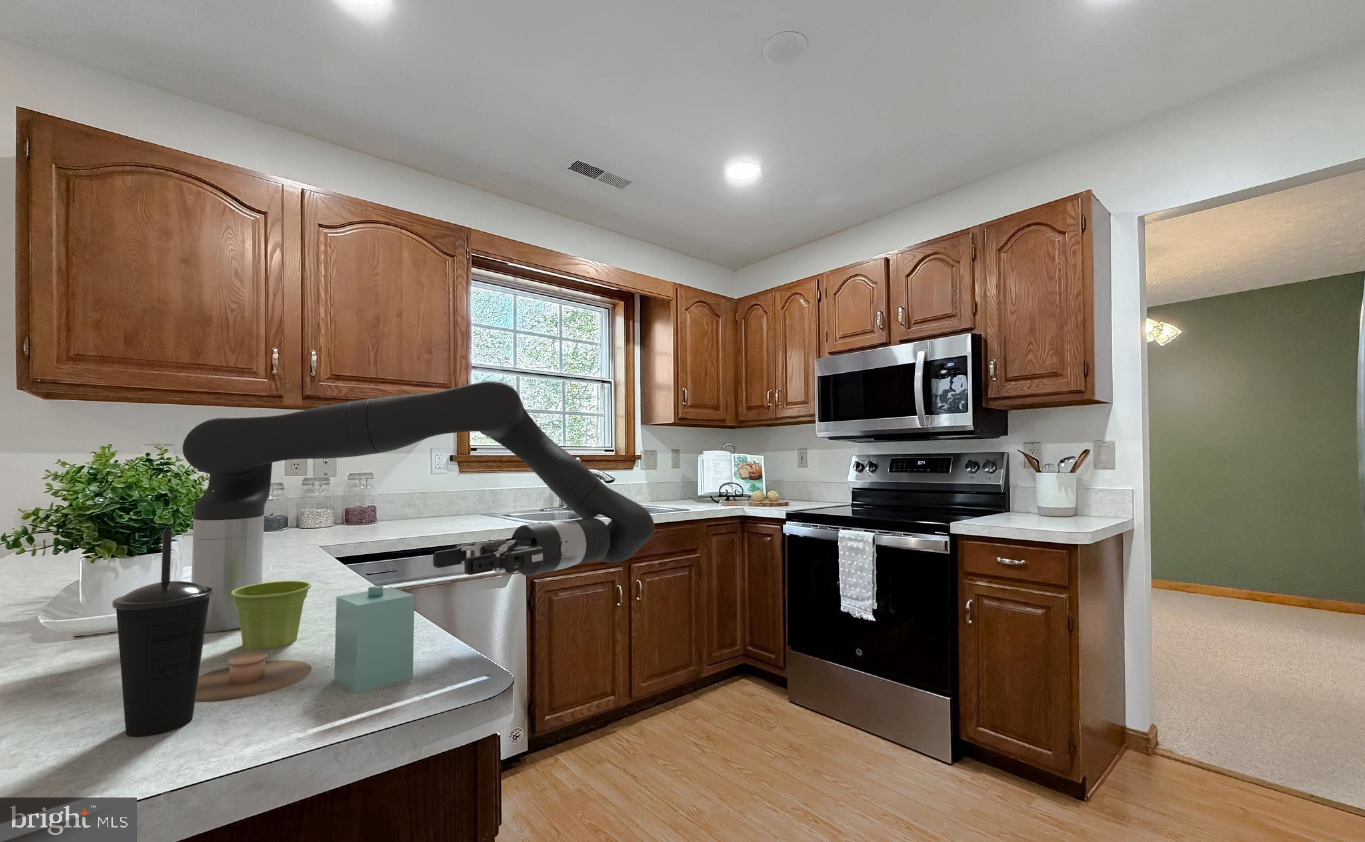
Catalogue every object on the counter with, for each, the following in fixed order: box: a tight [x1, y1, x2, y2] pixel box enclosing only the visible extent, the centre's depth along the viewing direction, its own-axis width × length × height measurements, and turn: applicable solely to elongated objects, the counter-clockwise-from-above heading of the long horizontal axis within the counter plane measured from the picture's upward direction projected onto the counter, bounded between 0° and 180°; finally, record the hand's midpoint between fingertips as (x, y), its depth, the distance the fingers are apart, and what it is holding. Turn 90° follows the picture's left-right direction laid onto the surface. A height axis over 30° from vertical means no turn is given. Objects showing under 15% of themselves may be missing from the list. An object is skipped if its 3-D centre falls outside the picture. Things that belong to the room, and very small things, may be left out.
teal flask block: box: [334, 585, 415, 694], centre depth 72 cm, size 6×6×11 cm
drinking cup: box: [111, 529, 213, 738], centre depth 60 cm, size 8×8×20 cm
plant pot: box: [231, 580, 312, 651], centre depth 86 cm, size 9×9×9 cm
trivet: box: [195, 659, 312, 703], centre depth 72 cm, size 13×13×1 cm
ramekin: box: [227, 651, 268, 684], centre depth 72 cm, size 4×4×2 cm
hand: (449, 563), depth 82 cm, fingers open, 8 cm apart
